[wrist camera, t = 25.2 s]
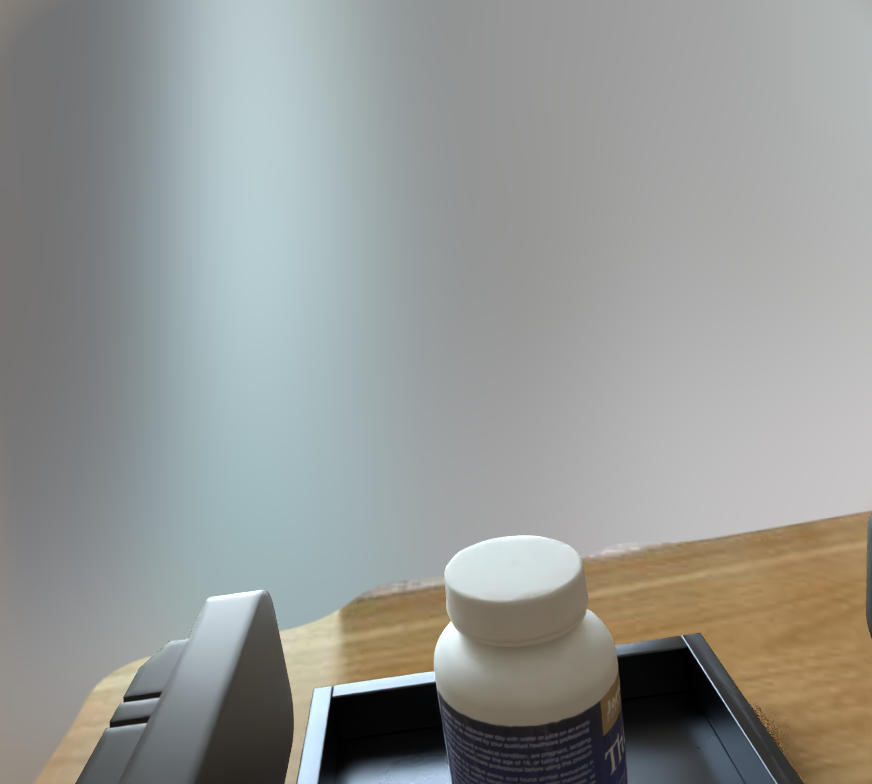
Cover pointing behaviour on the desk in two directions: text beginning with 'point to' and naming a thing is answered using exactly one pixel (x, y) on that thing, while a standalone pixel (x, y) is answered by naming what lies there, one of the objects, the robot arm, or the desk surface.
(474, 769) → the pill bottle
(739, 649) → the desk surface
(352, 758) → the bin
